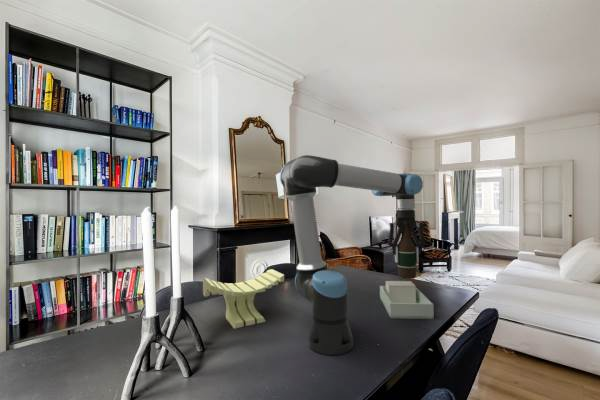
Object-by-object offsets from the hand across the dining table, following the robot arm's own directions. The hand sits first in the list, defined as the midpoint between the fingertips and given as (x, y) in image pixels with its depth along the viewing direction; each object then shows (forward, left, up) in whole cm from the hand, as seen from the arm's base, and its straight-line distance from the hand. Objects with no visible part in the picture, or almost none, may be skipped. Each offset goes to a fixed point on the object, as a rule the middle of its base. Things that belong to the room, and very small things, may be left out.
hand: (406, 262), depth 127 cm
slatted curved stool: (-69, -11, -22) cm, 73 cm away
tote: (0, +6, -22) cm, 22 cm away
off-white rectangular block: (0, +13, -21) cm, 24 cm away
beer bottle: (0, 0, -6) cm, 6 cm away
